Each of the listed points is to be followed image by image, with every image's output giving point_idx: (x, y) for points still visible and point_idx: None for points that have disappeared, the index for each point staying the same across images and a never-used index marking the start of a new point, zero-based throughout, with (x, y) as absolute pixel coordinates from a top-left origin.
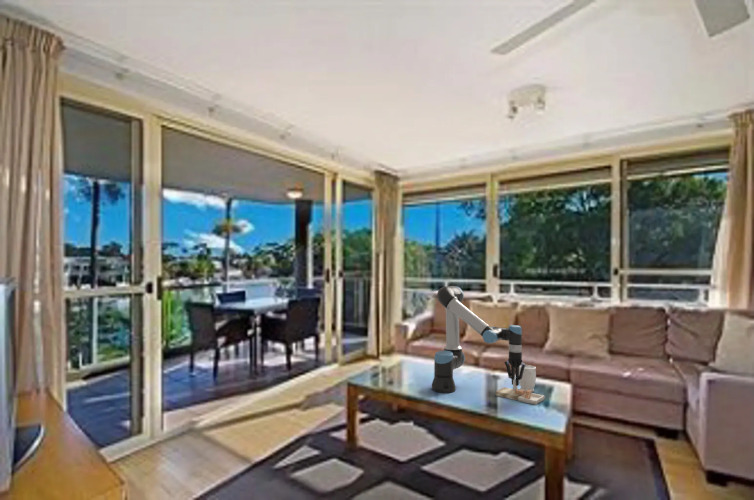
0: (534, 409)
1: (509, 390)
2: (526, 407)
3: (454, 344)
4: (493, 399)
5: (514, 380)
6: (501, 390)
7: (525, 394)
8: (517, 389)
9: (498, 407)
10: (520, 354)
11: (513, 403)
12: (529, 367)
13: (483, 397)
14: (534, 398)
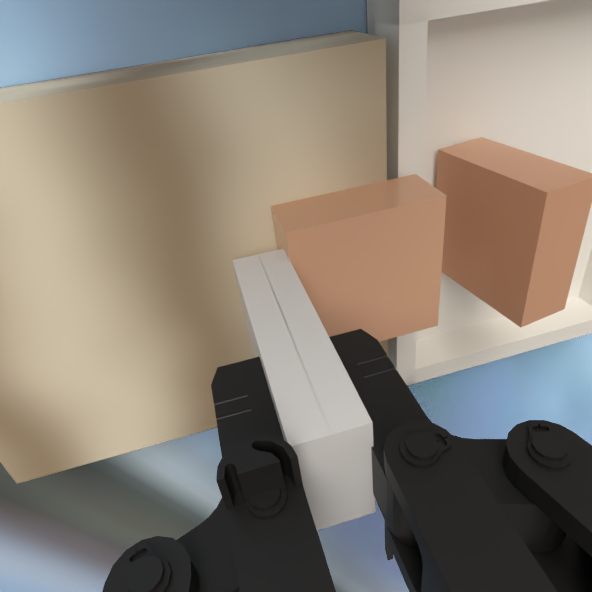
0: (582, 403)
1: (101, 264)
2: (512, 421)
3: None
4: (153, 521)
5: (344, 513)
6: (20, 386)
7: (477, 294)
8: (306, 274)
9: (332, 578)
10: None
11: None
12: None
13: (28, 566)
14: (541, 118)
